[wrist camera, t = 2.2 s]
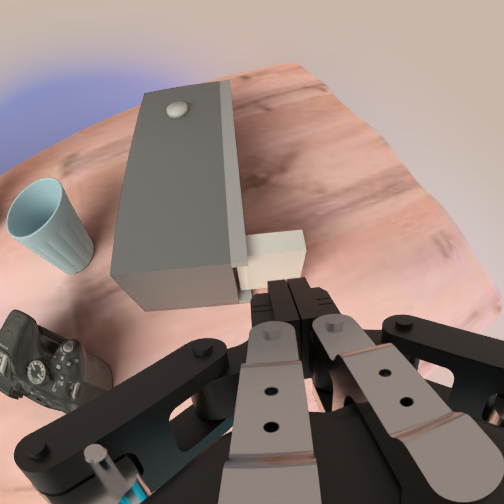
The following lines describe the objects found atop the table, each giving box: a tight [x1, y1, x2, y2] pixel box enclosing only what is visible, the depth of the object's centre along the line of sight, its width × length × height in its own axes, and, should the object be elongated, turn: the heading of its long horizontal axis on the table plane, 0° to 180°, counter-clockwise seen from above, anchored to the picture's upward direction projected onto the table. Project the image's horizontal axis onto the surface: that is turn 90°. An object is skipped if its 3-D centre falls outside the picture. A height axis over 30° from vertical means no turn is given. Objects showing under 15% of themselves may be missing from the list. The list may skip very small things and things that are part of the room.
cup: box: [6, 177, 94, 274], centre depth 32 cm, size 8×8×10 cm
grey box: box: [110, 80, 252, 311], centre depth 35 cm, size 11×27×10 cm, turn 6°
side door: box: [237, 230, 306, 290], centre depth 32 cm, size 6×11×7 cm, turn 6°
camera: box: [0, 310, 112, 414], centre depth 25 cm, size 13×10×10 cm
